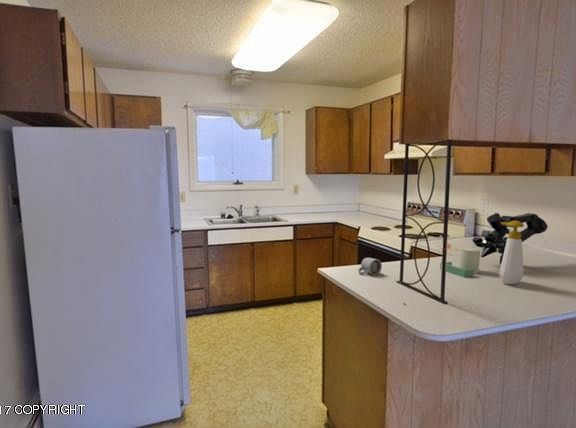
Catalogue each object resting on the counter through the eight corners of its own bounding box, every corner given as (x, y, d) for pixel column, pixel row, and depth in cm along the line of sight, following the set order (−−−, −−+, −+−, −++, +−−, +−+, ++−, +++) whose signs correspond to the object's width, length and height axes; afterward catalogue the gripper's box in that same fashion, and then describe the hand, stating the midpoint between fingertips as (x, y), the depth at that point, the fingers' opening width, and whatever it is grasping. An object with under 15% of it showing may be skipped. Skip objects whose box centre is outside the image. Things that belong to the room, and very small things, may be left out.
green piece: (449, 268, 187) (451, 241, 186) (473, 275, 174) (475, 246, 172) (439, 269, 185) (441, 242, 183) (463, 277, 171) (465, 247, 170)
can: (478, 274, 176) (480, 250, 175) (457, 271, 181) (459, 248, 180) (479, 270, 184) (481, 247, 183) (459, 267, 189) (461, 245, 188)
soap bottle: (503, 277, 171) (509, 218, 168) (527, 283, 163) (533, 220, 159) (489, 281, 165) (494, 219, 161) (513, 288, 156) (518, 222, 152)
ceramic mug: (371, 269, 183) (371, 255, 182) (381, 273, 176) (382, 258, 175) (354, 272, 178) (354, 257, 177) (364, 276, 171) (365, 261, 170)
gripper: (475, 222, 194) (459, 243, 191) (508, 227, 177) (491, 250, 174) (485, 235, 198) (469, 256, 195) (517, 241, 180) (500, 264, 178)
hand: (481, 256), depth 185 cm, fingers closed
